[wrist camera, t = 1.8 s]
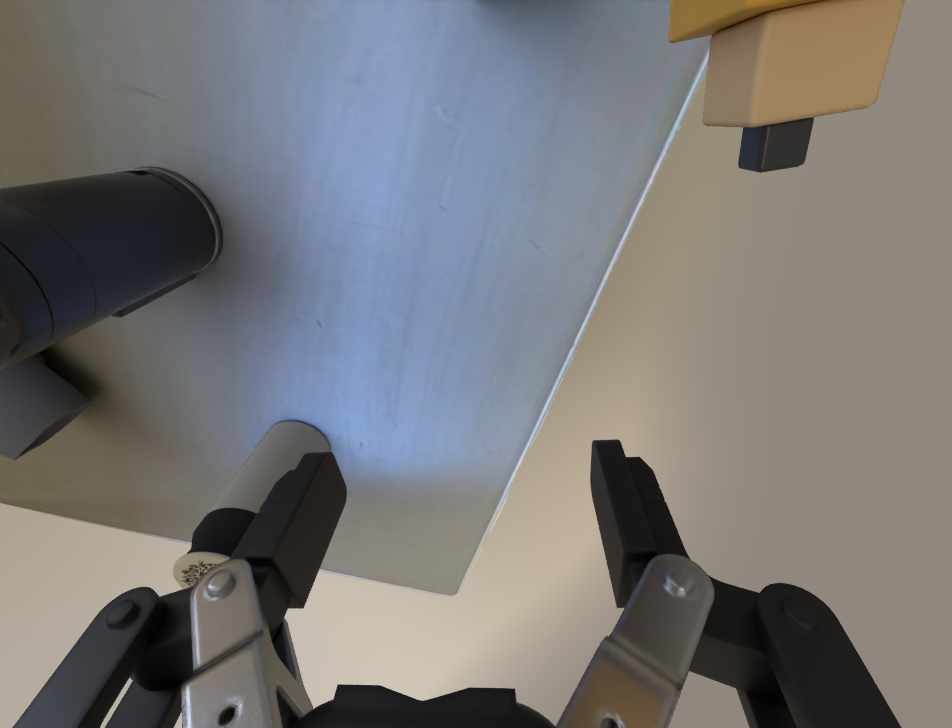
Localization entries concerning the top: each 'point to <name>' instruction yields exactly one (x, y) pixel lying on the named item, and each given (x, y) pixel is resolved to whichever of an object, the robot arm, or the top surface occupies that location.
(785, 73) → the pencil
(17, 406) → the bluetooth speaker
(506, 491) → the top surface
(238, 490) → the travel mug
